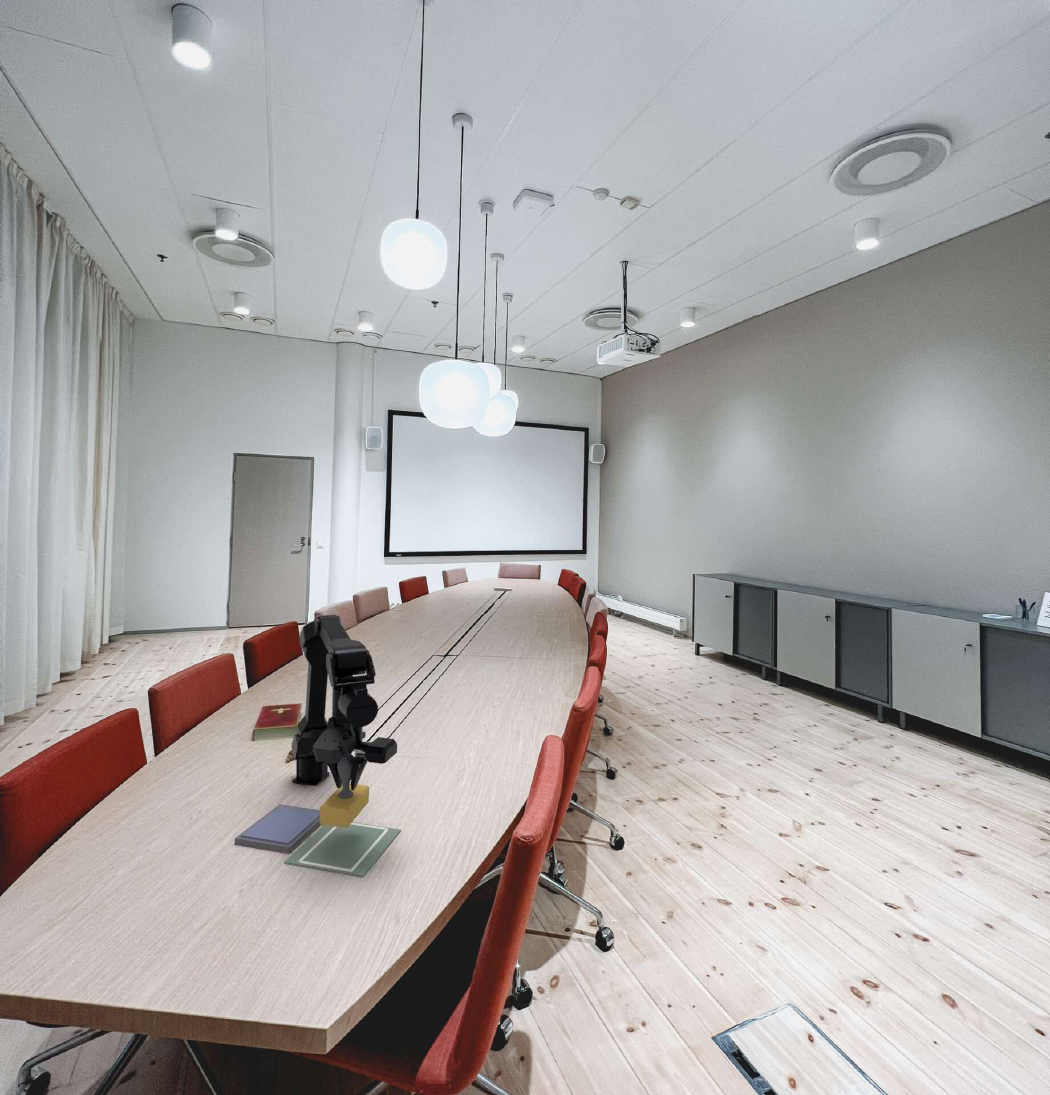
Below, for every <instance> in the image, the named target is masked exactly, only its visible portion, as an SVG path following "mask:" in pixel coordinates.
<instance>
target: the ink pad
mask: <svg viewBox="0 0 1050 1095" xmlns="http://www.w3.org/2000/svg"><path fill="white" fill-rule="evenodd" d="M320 826H321V825H320V809H314V808H308V807H301V806H300V807H299V806H295V805H286V804H282V803H281V804H278V805H277V806H275V807H274V808H273V809H271V810H270V811H269V812H267V813H266V814H265V815H264V816H262V817H261V818H260V819H258V820H257V821H256V822H254V823H253V824H251V825H250V826H249V827H247V828H246V829H245V830H244V831H242V832H241V833H239V834H238V835H237V836H236V837H235V838H234V845H237V846H242V847H243V846H244V847H249V848H256V849H260V850H267V851H272V852H277V851H278V853H283V852H284V853H285V854H290V853H292V852H291V851H292V850H293V851H294V850H295V849H296V848H297V847H298V846H299V845H301V842H302V841H303V842H304V841H305V840H306V839H307V838H308V837H310V836H311V834H313V833H314V831H316V830H317V829H319V827H320Z"/></svg>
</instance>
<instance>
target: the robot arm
mask: <svg viewBox="0 0 1050 1095" xmlns="http://www.w3.org/2000/svg"><path fill="white" fill-rule="evenodd" d="M299 645H300V648H301V651H302V652H303V654H304V657H305V659H306V660H307V664H308V665H307V676H306V677H307V678H306V680H307V681H306V682H307V683H306V695H305V696H306V698H305V712H304V713H305V714H304V716H303V717H302V719H300V721H299V724H298V725H297V734H296V735H294V737H293V739H292V741H291V750H292V755H293V757H294V760H295V762H296V765H295V766H296V767H295V770H296V773H295V777H294V778H293V779H292V780H291V782H292V783H293V784H294V783H296V784H302V785H309V786H317V785H319V784H320V783H321V782H323V780H325V779H327V778H328V777H329V776H330V774H331V776H332V779H333V782H334V783H335V787H336V788H337V789H338V788H340V787H341V786H342V781H341V778H340V775H339V773H338V769H337V763H338V762H339V761H340V760H341V759H342V757H343V756H350V755H351V754H352V755H353V752H354V757H353V758H352V759H351V760H350V761H349V763H350V765H351V767H352V768H351V780H350V784H351V790H354V789H355V788H356V786H357V785H359V781H360V779H361V776H362V774H363V772H364V770H365V768H366V765H367V763H372V764H379V765H382V764H386V763H387V762H388V761H389V760H390V759H391V758H393V757H394V756H395V755H396V754H397V753H398V743H397V741H396V740H395V739H394V738H388V737H380V736H378V737H377V738H375V739H374V740H373V741H363V740H364V739H365V738H366V736H367V735H366V733H367V732H366V731H363V728H364V727H367V726H369V725H370V724H372V723H373V722H374V721H375V719H376V718H377V715H378V713H379V706H378V703H377V701H376V699H375V698H374V697H373V696H372V695H371V694H370V693H369V690H368V688H367V685H374V684H375V678H376V675H377V674H376V669H375V664H374V661H373V657H372V655H371V654H370V651H369V649H367V647H366V645H364V644H363V643H362V642H361V641H360V640H355V639H351V637H350V635H349V634H348V632H347V630H346V629H345V628H344V626H343V625H342V623H341V618H340V615H336V614H327V615H326V614H323V615H321V614H320V615H318V616H315V617H314V619H313V621H311V622H309V623H307V624H305V625H304V626H302V629H301V631H300V633H299ZM328 679H329V683H330V687H331V689H332V692H331V696H332V698H331V700H332V702H331V705H332V706H331V716H330V717H329V718H328V719H327V718H326V706H327V705H326V704H327V693H328V692H327V691H328ZM328 770H330V772H329V771H328Z"/></svg>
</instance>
